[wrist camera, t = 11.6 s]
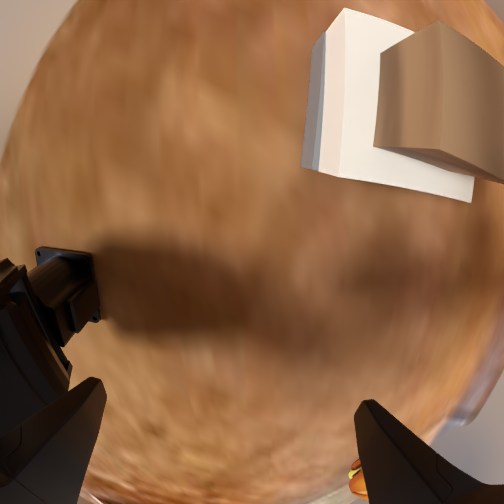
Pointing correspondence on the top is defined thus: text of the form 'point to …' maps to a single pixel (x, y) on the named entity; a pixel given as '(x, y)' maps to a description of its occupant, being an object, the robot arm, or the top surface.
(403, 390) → the top surface
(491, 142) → the walnut block
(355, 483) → the cheeseburger
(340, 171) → the tower top slab
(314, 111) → the tower base slab
